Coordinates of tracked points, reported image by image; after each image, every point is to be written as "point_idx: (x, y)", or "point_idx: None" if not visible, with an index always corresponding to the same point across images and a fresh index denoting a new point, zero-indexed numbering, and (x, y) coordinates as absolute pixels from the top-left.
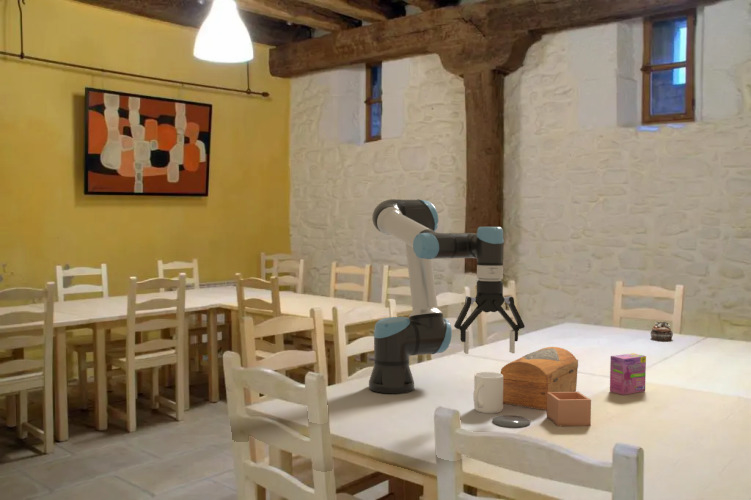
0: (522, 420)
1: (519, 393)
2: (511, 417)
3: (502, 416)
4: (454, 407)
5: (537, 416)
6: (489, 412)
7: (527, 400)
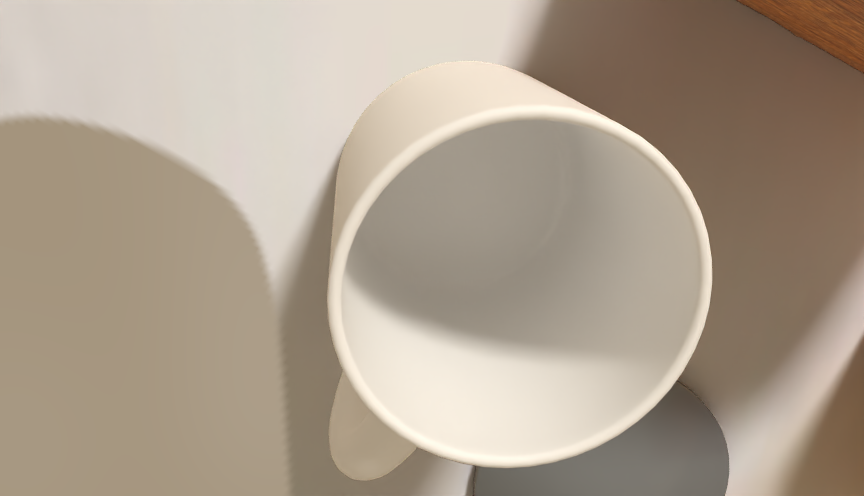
0: (679, 482)
1: (813, 12)
2: None
3: None
4: (153, 143)
5: (815, 303)
6: (463, 294)
7: (846, 47)
